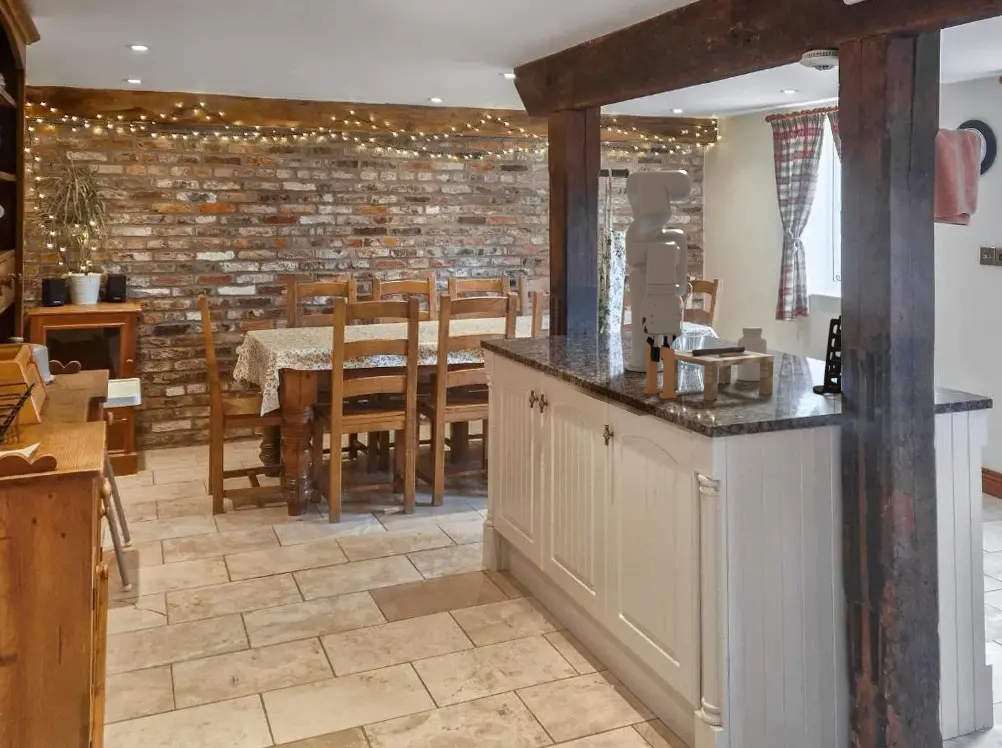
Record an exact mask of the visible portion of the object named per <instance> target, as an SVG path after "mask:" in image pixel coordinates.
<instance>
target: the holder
mask: <svg viewBox="0 0 1002 748" xmlns="http://www.w3.org/2000/svg"><path fill="white" fill-rule="evenodd" d="M841 316H842V315H841V314H840V315H839V316H838V318H831V319H830V321H829V328H828V336H827V345H826V356H825V363H824V364H825V365H824V373H823V385H819V384H817V385H814V386H813V387H812V391H813V392H814V393H816V394H819V395H821V396H822V395H825V394H827V393H837V394H841V393H840V392H841V375H842V372H841V330H842V329H841V326H842V325H841ZM835 326H836V330H835V329H834V328H835ZM834 330H835V332H834ZM833 340H834V342H833ZM836 353H840V355H839V356H838V355H837V354H836ZM832 379H836V381H833V380H832Z"/></svg>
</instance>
